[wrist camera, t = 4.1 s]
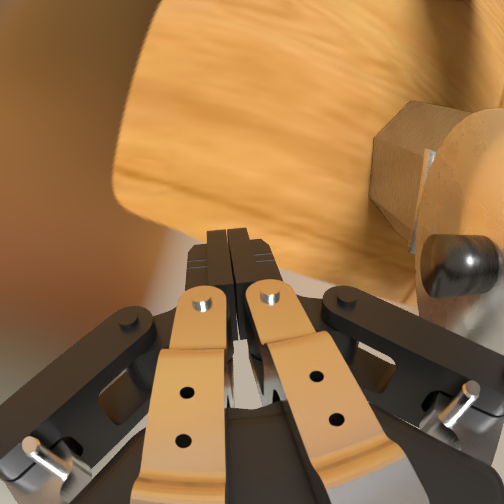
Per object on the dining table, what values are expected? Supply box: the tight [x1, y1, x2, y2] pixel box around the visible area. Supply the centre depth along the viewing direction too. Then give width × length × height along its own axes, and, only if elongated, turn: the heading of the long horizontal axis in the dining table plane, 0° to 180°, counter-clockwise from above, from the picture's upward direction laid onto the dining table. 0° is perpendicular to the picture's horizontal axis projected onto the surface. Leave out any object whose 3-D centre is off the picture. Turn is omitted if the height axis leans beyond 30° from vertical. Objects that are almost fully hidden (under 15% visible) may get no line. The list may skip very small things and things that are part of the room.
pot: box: [369, 101, 473, 243], centre depth 21 cm, size 13×17×8 cm
